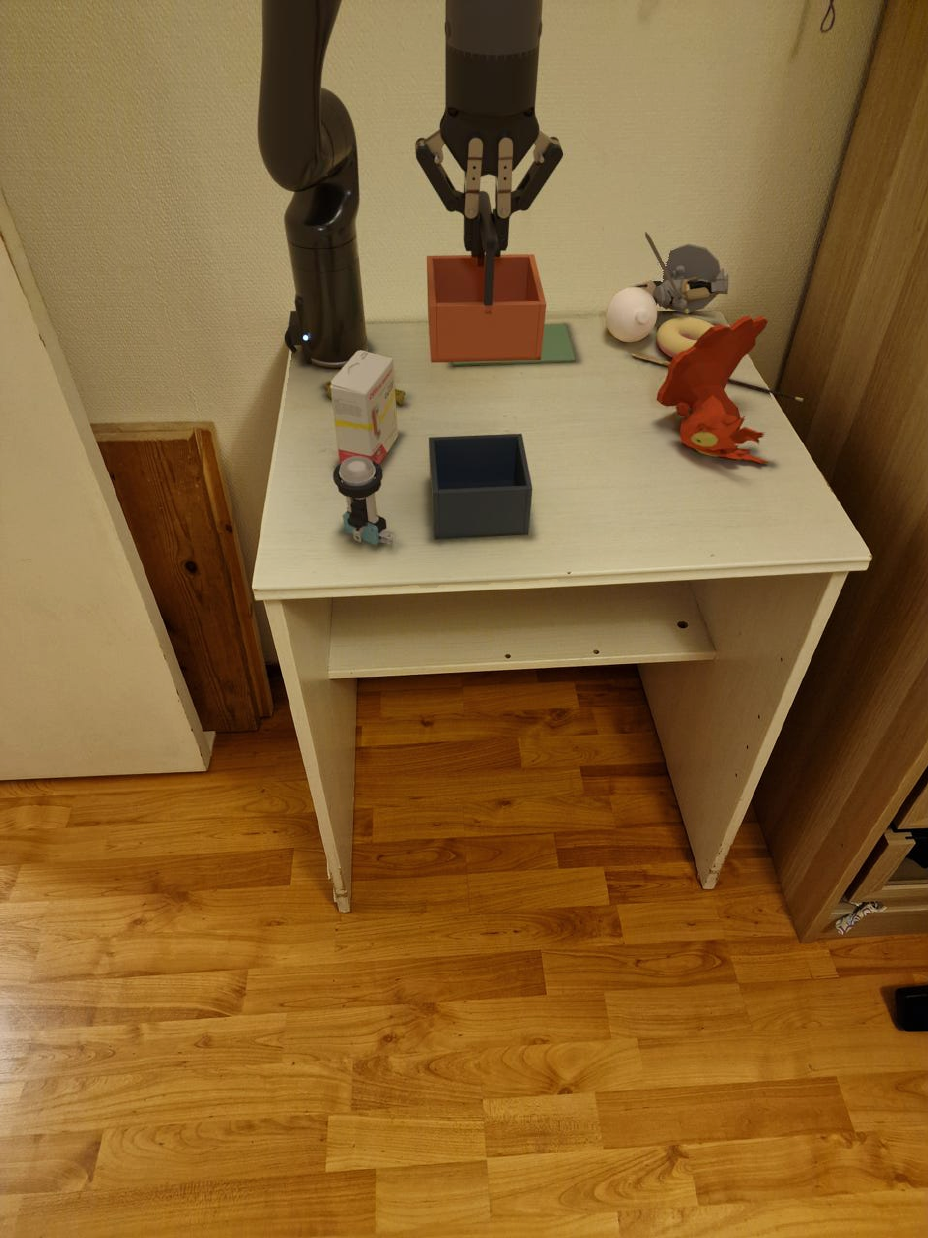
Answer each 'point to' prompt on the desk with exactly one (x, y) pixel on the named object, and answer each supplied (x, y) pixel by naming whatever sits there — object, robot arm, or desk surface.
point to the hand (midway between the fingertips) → (484, 252)
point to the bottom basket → (479, 486)
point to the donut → (680, 334)
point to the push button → (362, 499)
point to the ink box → (365, 407)
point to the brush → (728, 380)
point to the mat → (543, 348)
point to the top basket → (485, 302)
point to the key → (398, 393)
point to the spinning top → (631, 314)
